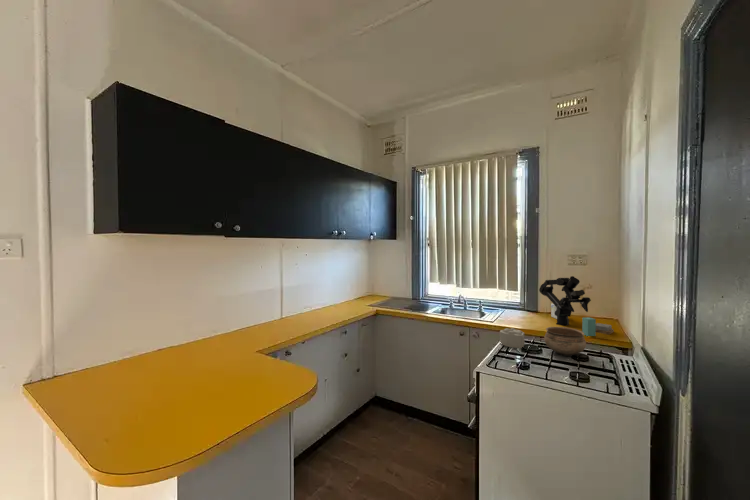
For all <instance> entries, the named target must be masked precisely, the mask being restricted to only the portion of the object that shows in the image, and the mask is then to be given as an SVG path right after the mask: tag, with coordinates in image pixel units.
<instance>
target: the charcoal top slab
mask: <svg viewBox="0 0 750 500" xmlns="http://www.w3.org/2000/svg"><path fill="white" fill-rule="evenodd" d="M612 327H613V326H612V325H611V324H607V323H605V324H604V323H600V322H596V329H598V330H603V331H609V330H611V329H613V328H612Z"/></svg>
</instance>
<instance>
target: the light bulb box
mask: <svg viewBox="0 0 750 500" xmlns="http://www.w3.org/2000/svg"><path fill="white" fill-rule="evenodd" d="M556 309H557V307H556V306H555V305H554V304H553V303H551V304H550V312H551V313H550V315H551V316H550V317H551V318H554V319H556V320H557V316H556V315H555V311H556Z"/></svg>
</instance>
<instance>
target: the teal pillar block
mask: <svg viewBox="0 0 750 500" xmlns="http://www.w3.org/2000/svg"><path fill="white" fill-rule="evenodd" d="M581 319H582V321H581V323H582V325H581V328H582V330H581V331H582V332H584V335H583V336H585V335H586V337H587V336H597V335H596V334H597V332H596V323H597V322H596V320H597V319H596V318H593V317H590V316H589V317H582V318H581Z"/></svg>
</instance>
